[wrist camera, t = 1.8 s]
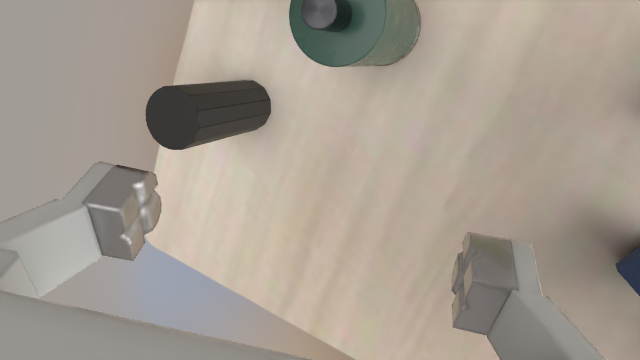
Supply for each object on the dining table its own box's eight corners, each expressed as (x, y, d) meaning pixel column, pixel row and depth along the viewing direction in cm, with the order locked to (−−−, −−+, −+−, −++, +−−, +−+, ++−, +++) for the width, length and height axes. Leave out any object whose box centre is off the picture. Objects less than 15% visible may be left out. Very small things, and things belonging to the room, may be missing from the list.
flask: (369, -30, 48) (297, -74, 32) (436, 8, 47) (396, -18, 31) (332, 41, 51) (250, 33, 35) (394, 79, 50) (338, 89, 34)
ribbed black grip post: (239, 71, 56) (158, 74, 43) (278, 96, 55) (207, 108, 42) (220, 113, 58) (137, 128, 45) (257, 138, 57) (183, 161, 44)
